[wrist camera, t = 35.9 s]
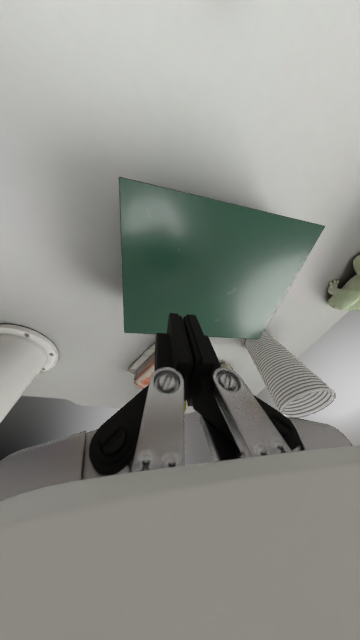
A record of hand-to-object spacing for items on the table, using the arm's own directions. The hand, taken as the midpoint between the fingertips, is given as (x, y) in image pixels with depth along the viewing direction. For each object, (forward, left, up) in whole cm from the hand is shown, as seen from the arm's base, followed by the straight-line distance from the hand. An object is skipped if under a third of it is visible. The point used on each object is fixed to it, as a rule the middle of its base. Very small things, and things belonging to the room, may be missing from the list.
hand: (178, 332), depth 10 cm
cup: (+23, -15, -18) cm, 33 cm away
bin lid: (+5, 0, -10) cm, 11 cm away
